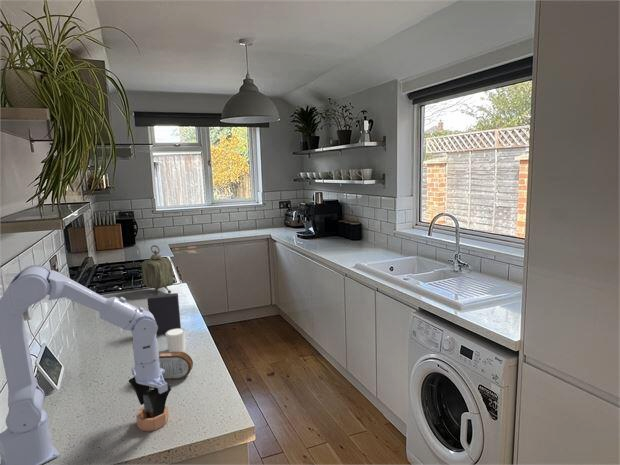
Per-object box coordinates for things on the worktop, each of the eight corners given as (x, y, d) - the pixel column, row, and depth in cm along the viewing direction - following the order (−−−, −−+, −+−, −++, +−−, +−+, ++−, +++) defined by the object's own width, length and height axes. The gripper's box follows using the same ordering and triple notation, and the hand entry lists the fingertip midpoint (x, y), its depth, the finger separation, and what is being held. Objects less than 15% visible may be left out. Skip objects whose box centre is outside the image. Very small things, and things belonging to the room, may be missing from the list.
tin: (194, 374, 128) (192, 349, 127) (191, 380, 125) (189, 354, 123) (145, 376, 128) (143, 351, 126) (142, 382, 125) (139, 356, 123)
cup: (146, 435, 100) (145, 424, 99) (133, 423, 105) (132, 412, 104) (173, 420, 105) (172, 410, 105) (159, 410, 110) (158, 400, 109)
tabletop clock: (174, 293, 209) (170, 245, 204) (159, 298, 202) (154, 248, 197) (158, 288, 217) (154, 242, 213) (142, 293, 210) (137, 245, 206)
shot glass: (187, 344, 149) (186, 326, 148) (186, 353, 142) (184, 334, 141) (168, 347, 148) (166, 328, 146) (165, 355, 141) (164, 336, 140)
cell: (149, 426, 102) (146, 396, 101) (143, 420, 105) (140, 391, 103) (162, 419, 105) (160, 390, 103) (156, 414, 107) (153, 386, 106)
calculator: (181, 327, 164) (178, 292, 162) (180, 332, 160) (177, 295, 158) (152, 331, 162) (148, 295, 159) (150, 335, 158) (147, 298, 155)
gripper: (176, 361, 100) (181, 411, 102) (147, 345, 109) (152, 391, 112) (149, 373, 95) (154, 425, 97) (121, 354, 104) (127, 403, 107)
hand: (151, 408), depth 104 cm, fingers open, 7 cm apart
